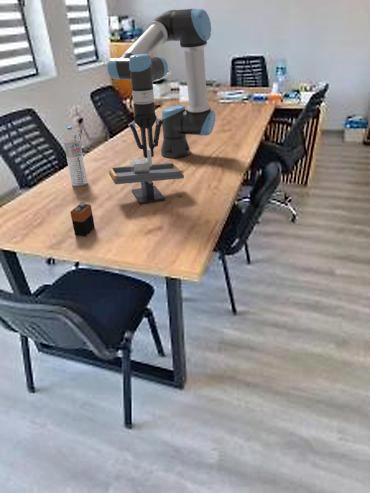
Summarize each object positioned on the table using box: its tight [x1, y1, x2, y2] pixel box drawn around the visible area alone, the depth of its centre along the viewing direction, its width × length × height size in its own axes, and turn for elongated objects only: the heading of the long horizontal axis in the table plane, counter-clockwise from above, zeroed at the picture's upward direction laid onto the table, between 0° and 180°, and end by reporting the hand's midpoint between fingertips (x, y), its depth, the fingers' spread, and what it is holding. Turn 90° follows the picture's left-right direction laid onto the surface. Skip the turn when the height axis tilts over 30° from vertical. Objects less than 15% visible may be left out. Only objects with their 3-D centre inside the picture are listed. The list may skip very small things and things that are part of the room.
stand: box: [131, 181, 166, 206], centre depth 160 cm, size 10×14×7 cm
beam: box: [108, 162, 185, 185], centre depth 157 cm, size 27×12×4 cm, turn 110°
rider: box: [129, 158, 149, 174], centre depth 155 cm, size 6×6×5 cm
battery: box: [70, 201, 95, 237], centre depth 136 cm, size 4×7×10 cm, turn 163°
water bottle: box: [62, 126, 88, 188], centre depth 170 cm, size 7×7×25 cm
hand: (149, 165), depth 156 cm, fingers closed
